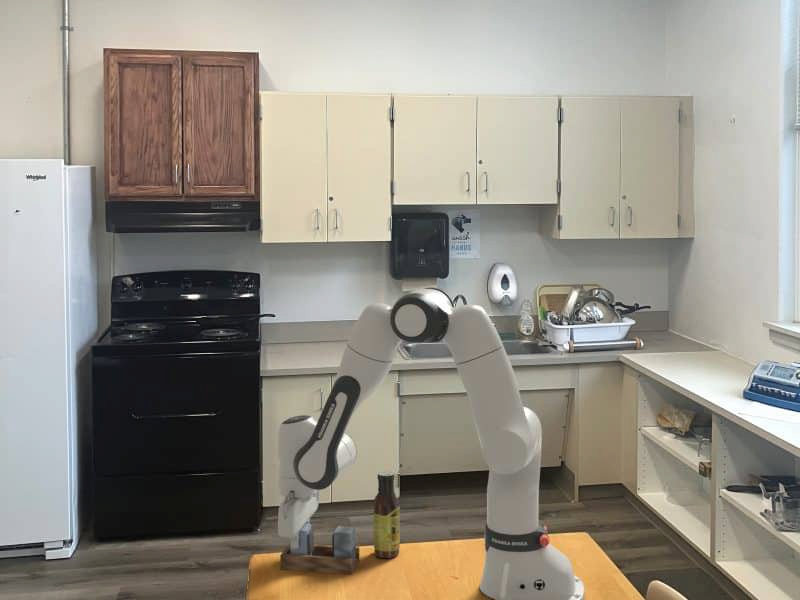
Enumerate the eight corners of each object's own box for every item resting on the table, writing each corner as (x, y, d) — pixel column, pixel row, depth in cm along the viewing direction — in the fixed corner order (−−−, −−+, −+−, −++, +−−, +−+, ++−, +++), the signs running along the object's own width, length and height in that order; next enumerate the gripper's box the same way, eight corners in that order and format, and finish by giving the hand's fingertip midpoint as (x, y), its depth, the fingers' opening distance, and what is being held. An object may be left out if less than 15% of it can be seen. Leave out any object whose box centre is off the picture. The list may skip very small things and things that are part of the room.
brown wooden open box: (359, 561, 207) (358, 524, 206) (351, 574, 199) (351, 536, 198) (290, 556, 210) (289, 520, 209) (280, 569, 202) (279, 531, 201)
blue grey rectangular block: (314, 556, 207) (313, 524, 206) (309, 563, 203) (308, 531, 202) (296, 555, 208) (294, 523, 206) (290, 562, 204) (289, 529, 203)
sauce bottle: (396, 560, 207) (395, 478, 205) (371, 558, 208) (369, 477, 206) (402, 549, 213) (401, 470, 211) (377, 547, 214) (376, 469, 212)
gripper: (297, 500, 193) (298, 560, 194) (323, 472, 213) (324, 527, 214) (269, 499, 194) (271, 559, 195) (298, 471, 214) (299, 525, 215)
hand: (299, 542), depth 205 cm, fingers open, 5 cm apart
